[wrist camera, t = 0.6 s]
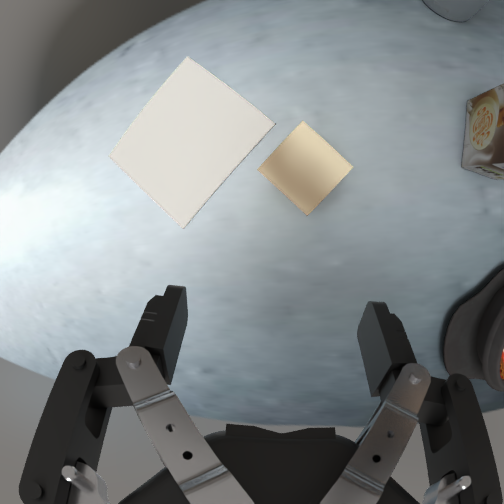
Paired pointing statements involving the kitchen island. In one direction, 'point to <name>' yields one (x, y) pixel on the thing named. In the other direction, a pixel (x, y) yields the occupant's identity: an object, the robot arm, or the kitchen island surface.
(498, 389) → the casserole
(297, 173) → the birch block
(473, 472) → the robot arm
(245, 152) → the felt mat
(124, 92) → the kitchen island surface
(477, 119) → the coffee box
